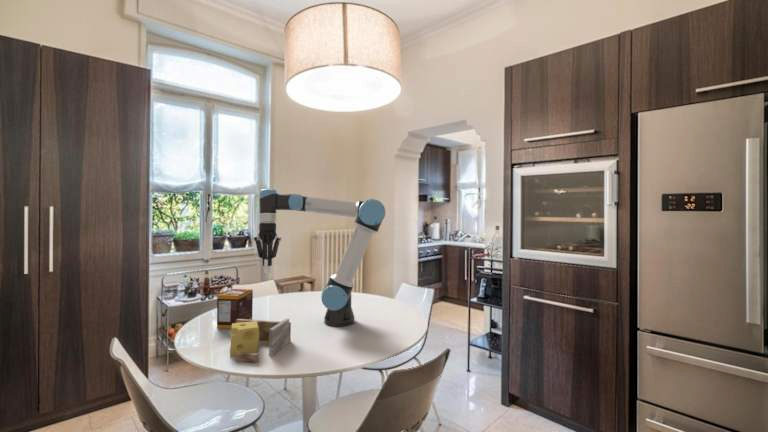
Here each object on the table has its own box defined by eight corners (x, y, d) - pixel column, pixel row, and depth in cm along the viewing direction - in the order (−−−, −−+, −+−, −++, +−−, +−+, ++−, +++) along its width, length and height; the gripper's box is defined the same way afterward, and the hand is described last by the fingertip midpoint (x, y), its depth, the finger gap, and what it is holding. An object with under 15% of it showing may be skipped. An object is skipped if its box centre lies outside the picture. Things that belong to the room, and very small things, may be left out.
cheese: (229, 356, 134) (230, 330, 134) (230, 346, 144) (231, 322, 144) (258, 353, 138) (259, 327, 138) (258, 343, 148) (258, 319, 148)
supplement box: (252, 319, 181) (253, 289, 181) (237, 329, 166) (237, 295, 166) (233, 318, 182) (233, 288, 182) (216, 328, 167) (216, 294, 167)
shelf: (290, 341, 151) (290, 317, 151) (262, 363, 128) (263, 336, 128) (237, 337, 155) (237, 314, 155) (201, 358, 132) (201, 331, 132)
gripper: (284, 222, 169) (283, 272, 169) (259, 222, 171) (258, 271, 171) (277, 222, 161) (276, 274, 161) (250, 222, 163) (249, 273, 164)
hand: (267, 272), depth 166 cm, fingers closed
